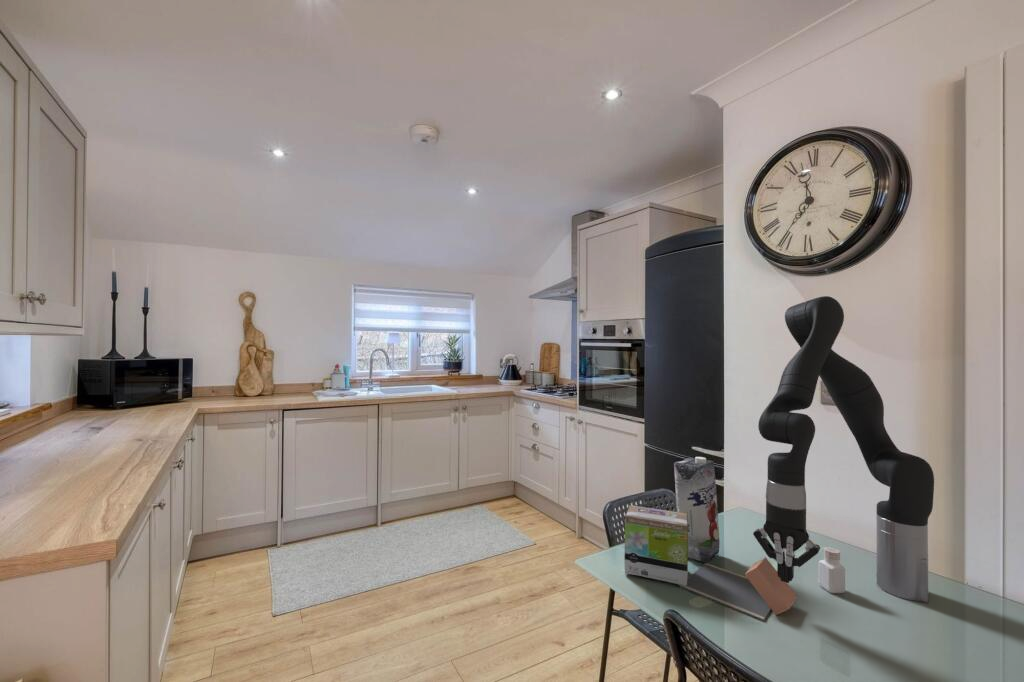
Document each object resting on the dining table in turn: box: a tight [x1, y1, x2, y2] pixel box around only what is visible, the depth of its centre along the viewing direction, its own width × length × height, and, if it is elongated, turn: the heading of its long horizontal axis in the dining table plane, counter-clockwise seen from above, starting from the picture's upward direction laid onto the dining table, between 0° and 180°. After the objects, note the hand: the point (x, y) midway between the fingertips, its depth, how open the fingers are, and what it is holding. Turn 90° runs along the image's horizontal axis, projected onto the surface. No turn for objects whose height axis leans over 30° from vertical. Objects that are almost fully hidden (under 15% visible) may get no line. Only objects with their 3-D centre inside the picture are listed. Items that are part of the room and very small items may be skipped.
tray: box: [679, 562, 772, 622], centre depth 103 cm, size 18×16×1 cm
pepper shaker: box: [818, 546, 846, 594], centre depth 103 cm, size 4×4×10 cm
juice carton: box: [673, 456, 721, 563], centre depth 121 cm, size 9×10×27 cm
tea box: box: [623, 504, 689, 586], centre depth 110 cm, size 15×10×15 cm
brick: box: [744, 556, 798, 616], centre depth 97 cm, size 4×7×9 cm
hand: (785, 580), depth 95 cm, fingers closed
